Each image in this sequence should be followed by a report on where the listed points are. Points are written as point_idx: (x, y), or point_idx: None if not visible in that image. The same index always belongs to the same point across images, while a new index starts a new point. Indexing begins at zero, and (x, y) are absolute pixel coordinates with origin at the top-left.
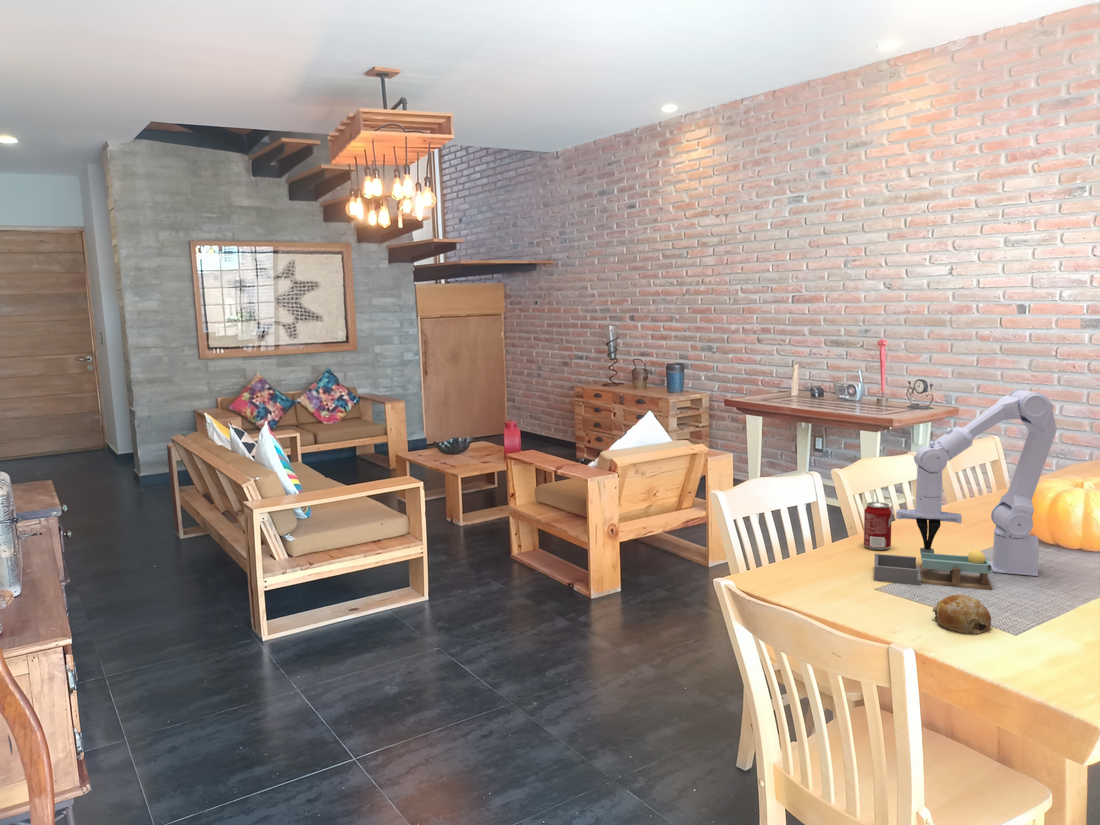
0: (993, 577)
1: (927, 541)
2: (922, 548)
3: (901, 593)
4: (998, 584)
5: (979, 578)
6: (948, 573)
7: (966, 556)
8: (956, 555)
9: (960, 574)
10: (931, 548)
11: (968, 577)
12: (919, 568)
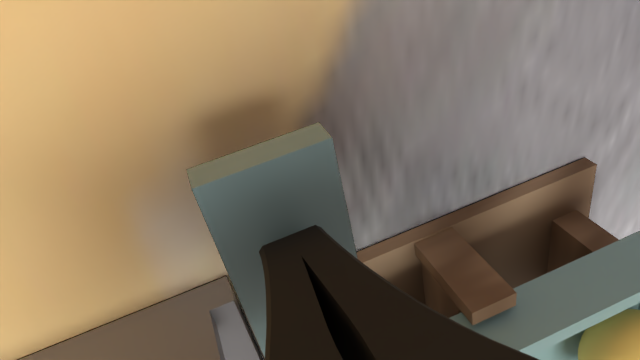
0: (618, 111)
1: (314, 279)
2: (226, 208)
3: None
4: (609, 205)
5: (550, 226)
6: (408, 253)
7: (588, 321)
8: (532, 345)
9: (468, 225)
10: (313, 147)
11: (503, 246)
12: (248, 335)
